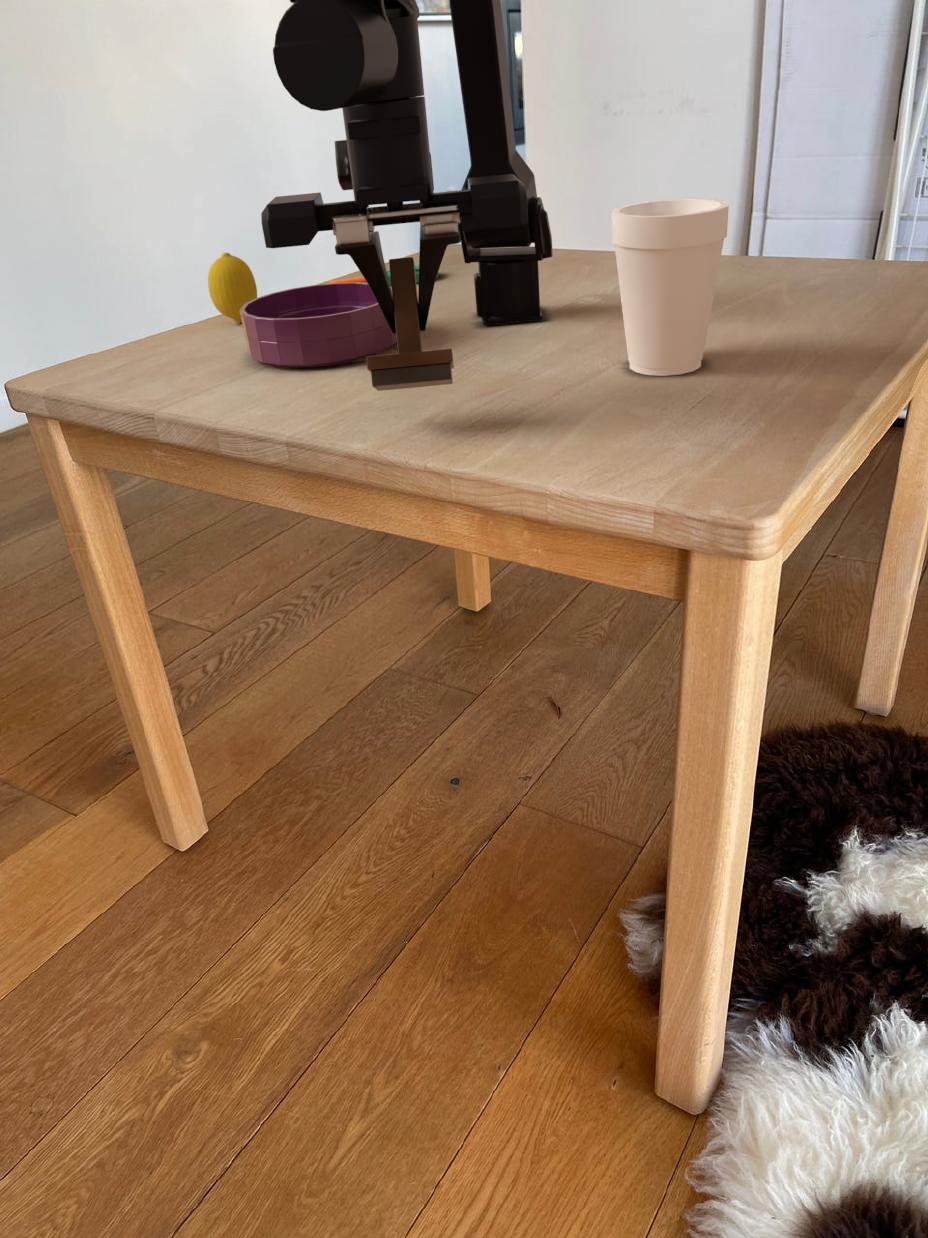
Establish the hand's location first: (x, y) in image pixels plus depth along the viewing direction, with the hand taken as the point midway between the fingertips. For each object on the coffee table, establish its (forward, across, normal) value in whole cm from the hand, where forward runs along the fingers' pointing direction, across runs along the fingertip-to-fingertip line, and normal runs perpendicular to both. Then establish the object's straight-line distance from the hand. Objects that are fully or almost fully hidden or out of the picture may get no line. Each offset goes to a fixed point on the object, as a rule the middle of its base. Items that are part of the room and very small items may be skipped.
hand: (409, 331), depth 71 cm
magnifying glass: (+8, +5, -56) cm, 57 cm away
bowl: (+7, +10, -26) cm, 29 cm away
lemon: (+8, +22, -42) cm, 48 cm away
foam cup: (+7, -22, -9) cm, 25 cm away
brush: (+4, 0, +2) cm, 4 cm away
